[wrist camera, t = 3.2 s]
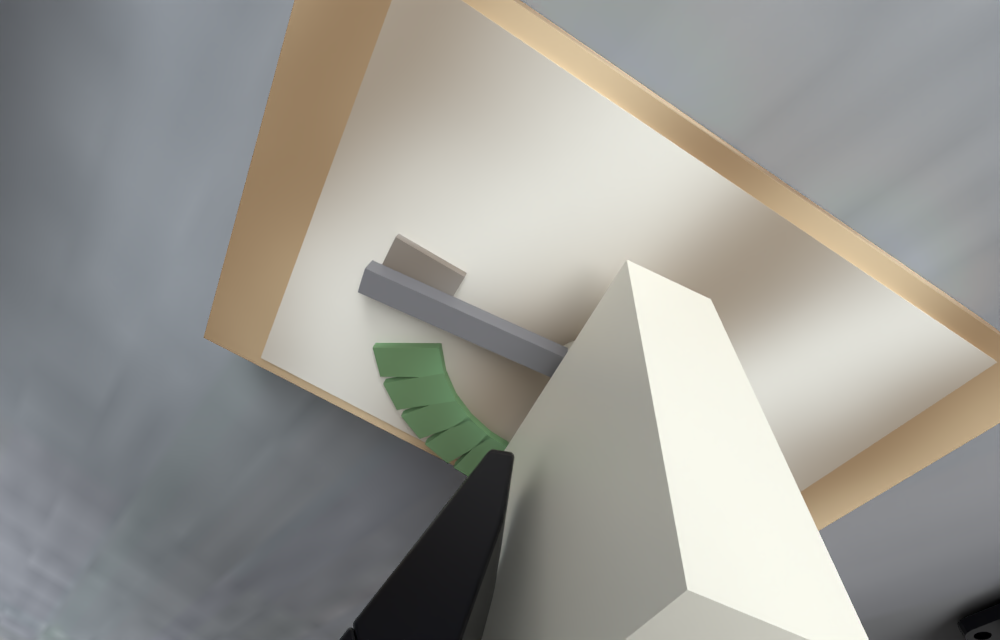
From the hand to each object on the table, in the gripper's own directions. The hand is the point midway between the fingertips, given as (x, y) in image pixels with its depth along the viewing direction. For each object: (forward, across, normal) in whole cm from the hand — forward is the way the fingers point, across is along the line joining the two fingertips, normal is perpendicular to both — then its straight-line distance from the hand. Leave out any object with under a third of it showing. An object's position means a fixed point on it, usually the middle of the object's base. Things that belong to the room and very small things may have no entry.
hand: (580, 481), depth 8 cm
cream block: (+3, +2, -1) cm, 4 cm away
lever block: (+6, 0, 0) cm, 6 cm away
